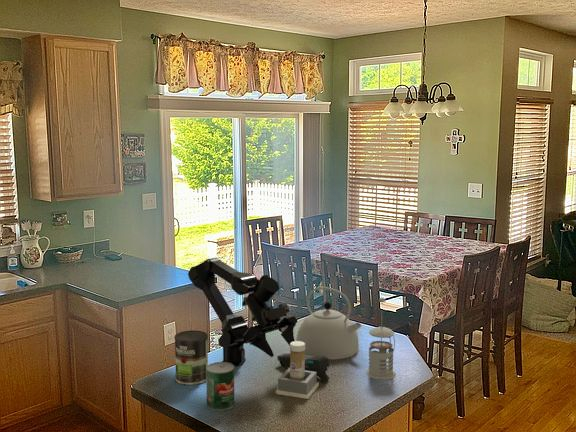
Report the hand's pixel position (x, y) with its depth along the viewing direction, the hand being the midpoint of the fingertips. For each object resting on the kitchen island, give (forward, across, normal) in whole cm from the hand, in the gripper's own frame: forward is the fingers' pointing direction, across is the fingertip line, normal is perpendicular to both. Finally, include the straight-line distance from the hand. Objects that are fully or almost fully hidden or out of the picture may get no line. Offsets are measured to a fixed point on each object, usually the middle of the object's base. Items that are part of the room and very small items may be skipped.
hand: (283, 352), depth 177 cm
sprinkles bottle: (+11, 0, +2) cm, 11 cm away
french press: (+18, +29, -4) cm, 34 cm away
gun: (+6, +11, +9) cm, 15 cm away
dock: (+11, 0, +3) cm, 12 cm away
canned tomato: (+6, -23, +9) cm, 25 cm away
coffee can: (-9, -18, +24) cm, 31 cm away
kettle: (0, +33, +15) cm, 37 cm away
